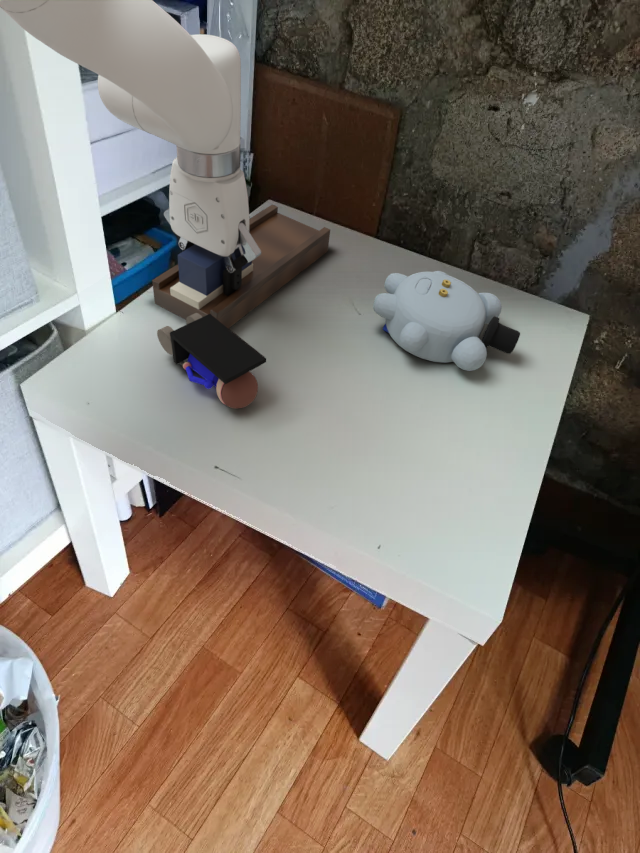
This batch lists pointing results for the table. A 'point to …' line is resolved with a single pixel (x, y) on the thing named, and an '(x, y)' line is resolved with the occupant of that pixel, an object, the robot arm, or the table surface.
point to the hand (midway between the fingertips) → (212, 280)
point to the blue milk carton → (201, 276)
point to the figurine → (443, 319)
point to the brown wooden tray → (255, 268)
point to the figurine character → (214, 358)
